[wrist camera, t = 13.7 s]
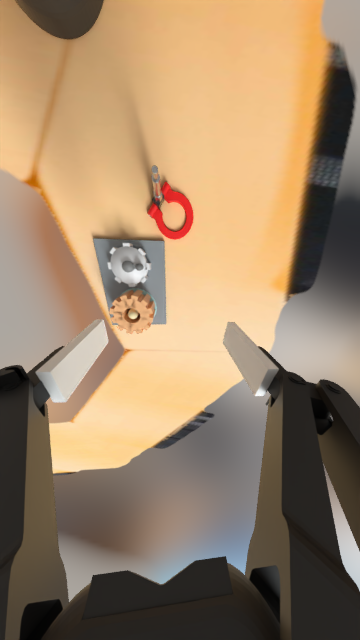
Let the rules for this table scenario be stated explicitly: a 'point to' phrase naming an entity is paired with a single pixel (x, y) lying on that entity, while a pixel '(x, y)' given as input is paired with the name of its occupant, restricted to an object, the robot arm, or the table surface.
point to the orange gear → (138, 303)
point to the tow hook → (169, 197)
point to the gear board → (129, 267)
